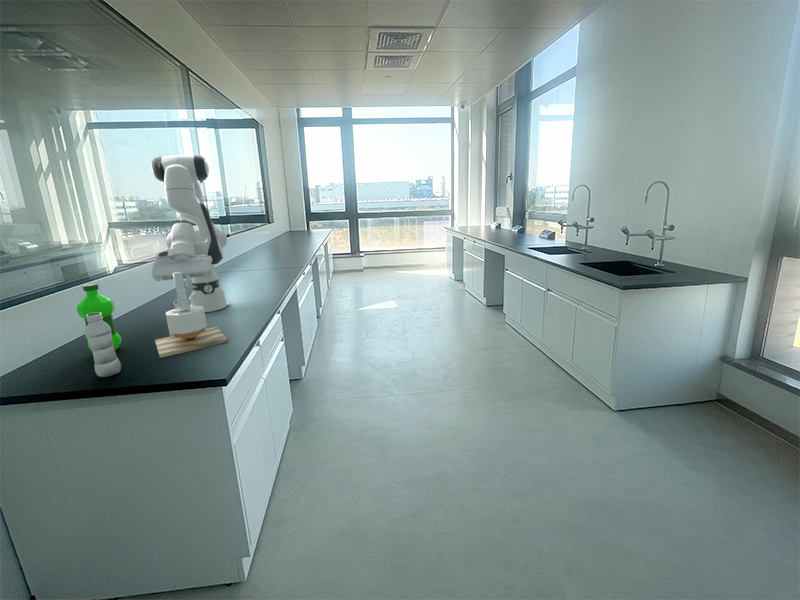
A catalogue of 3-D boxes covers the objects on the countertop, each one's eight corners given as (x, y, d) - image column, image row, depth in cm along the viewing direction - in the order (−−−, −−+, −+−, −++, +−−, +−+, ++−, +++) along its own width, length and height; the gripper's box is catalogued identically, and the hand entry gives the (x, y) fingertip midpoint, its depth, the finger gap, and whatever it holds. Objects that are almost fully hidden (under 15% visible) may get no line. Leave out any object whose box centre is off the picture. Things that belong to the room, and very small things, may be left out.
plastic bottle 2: (127, 370, 126) (112, 310, 120) (110, 379, 119) (94, 317, 114) (109, 370, 126) (93, 311, 121) (91, 379, 120) (74, 317, 115)
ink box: (170, 338, 153) (162, 303, 149) (174, 332, 161) (167, 298, 157) (180, 337, 154) (173, 301, 150) (184, 331, 162) (177, 297, 158)
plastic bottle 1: (82, 357, 139) (63, 288, 132) (107, 346, 149) (91, 281, 142) (107, 357, 137) (89, 288, 131) (131, 346, 147) (115, 281, 141)
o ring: (172, 332, 148) (171, 328, 147) (201, 326, 153) (200, 322, 153) (175, 339, 140) (174, 335, 139) (206, 332, 145) (205, 328, 145)
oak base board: (155, 343, 149) (154, 339, 148) (217, 330, 161) (217, 326, 160) (159, 358, 134) (159, 353, 134) (227, 342, 146) (226, 338, 146)
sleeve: (168, 328, 148) (164, 310, 146) (203, 321, 154) (199, 304, 152) (172, 336, 138) (168, 317, 136) (208, 328, 145) (205, 310, 143)
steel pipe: (179, 338, 148) (166, 272, 141) (198, 334, 152) (186, 270, 145) (182, 343, 143) (168, 275, 136) (201, 339, 146) (188, 272, 140)
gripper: (213, 259, 158) (214, 287, 152) (156, 264, 153) (155, 294, 146) (210, 249, 153) (211, 278, 147) (151, 254, 147) (149, 285, 141)
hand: (182, 286), depth 146 cm, fingers closed
